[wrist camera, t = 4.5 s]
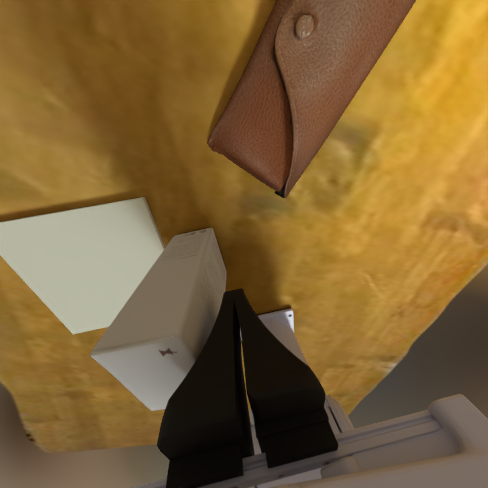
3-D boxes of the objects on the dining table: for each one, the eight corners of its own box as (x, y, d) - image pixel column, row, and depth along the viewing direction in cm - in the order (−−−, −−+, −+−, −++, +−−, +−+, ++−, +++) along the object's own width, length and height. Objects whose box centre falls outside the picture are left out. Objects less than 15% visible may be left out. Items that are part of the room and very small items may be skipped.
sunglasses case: (342, -191, 9) (549, -404, 5) (365, -24, 14) (477, -64, 10) (201, 150, 15) (245, 177, 11) (253, 181, 20) (296, 207, 16)
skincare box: (172, 234, 18) (82, 353, 7) (213, 225, 18) (181, 335, 7) (192, 280, 21) (148, 414, 10) (227, 273, 20) (221, 403, 10)
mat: (189, 306, 22) (188, 309, 22) (75, 330, 22) (72, 334, 21) (144, 196, 16) (142, 197, 15) (-19, 225, 15) (-26, 227, 15)
